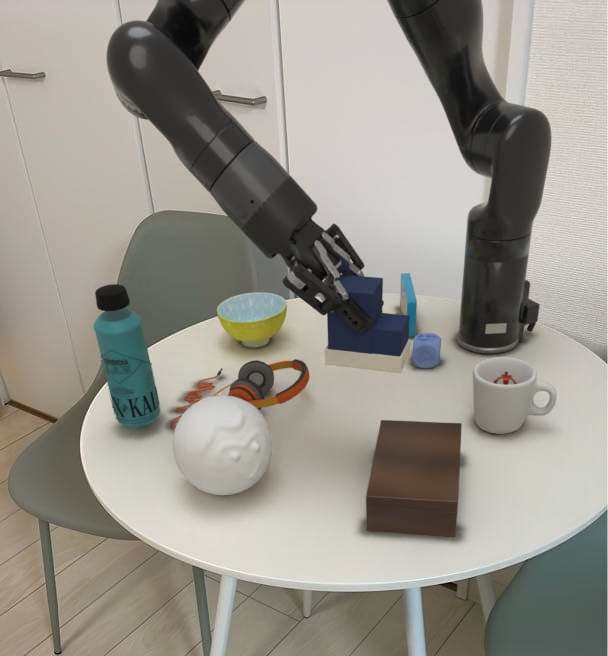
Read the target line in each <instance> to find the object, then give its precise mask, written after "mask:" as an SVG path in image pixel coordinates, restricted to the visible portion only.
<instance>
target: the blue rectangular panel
mask: <svg viewBox="0 0 608 656" xmlns="http://www.w3.org/2000/svg"><path fill="white" fill-rule="evenodd" d="M399 292H400V293H399V294H400V299H399V310H400V315H409V316H410V317H409V338H411V337H412V338H414V337H415V336H416V335H417V307H418V306H417V305H418V301H417V296H416V293H415V289H414V284H413V281H412V275H411V273H410V272H406V273H404V272H403V273H400V291H399Z"/></svg>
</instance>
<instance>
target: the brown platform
mask: <svg viewBox="0 0 608 656" xmlns="http://www.w3.org/2000/svg"><path fill="white" fill-rule="evenodd" d="M462 425H463V424H462V423H461V422H443V421H442V422H436V421H418V420H417V421H416V420H415V421H414V420H393V419H392V420H388V419H381V420H380V424H379V428H378V434H377V439H376V443H375V449H374V454H373V459H372V463H371V464H372V465H371V469H370V476H369V480H368V484H367V490H366V494H365V506H366V507H365V516H366V517H365V520H366V523H365V524H366V525H365V526H366V529H365V530H366V531H367V532H377V533H378V532H379V533H393V534H394V533H395V534H408V535H421V536H422V535H423V536H436V537H437V536H438V537H452V538H455V537H456V533H457V520H458V509H459V495H460V494H459V491H460V472H461V470H460V469H461V449H462V448H461V447H462V427H463V426H462Z"/></svg>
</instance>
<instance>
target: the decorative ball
mask: <svg viewBox="0 0 608 656" xmlns="http://www.w3.org/2000/svg"><path fill="white" fill-rule="evenodd" d="M199 400H200V401H198V402H194V403H192V404H191V405H192V406H191V407H187V408H186V409H187V410H184V412H183V413H182V414H181V415H182V416H181V415H180V416H181V417H180V418H179V420H178V422H177V423H176V425H175V426H176V428H174V430H173V431H174V432H173V436H172V452H173V453H172V454H173V457H174V462H175V464H176V466H177V468H178V470H179V471H180V473H181V475H182V476H183V478H185V480H186V481H187V482H189V483H190V485H192V486H194V487H195V488H197V489H198V490H200V491H202V492H204V493H207V494H210V495H216V496H232V495H236V494H239V493H242V492H245V491H246V490H248V489H250V488H251V487H253V486H254V485H255V484H257V483H258V481H260V480H261V478H262V477H263V476H264V474H265V473H266V471H267V470H268V467H269V465H270V463H271V459H272V456H273V437H272V432H271V429H270V427H269V423H268V421H267V419H266V417H265V416H264V414H263V413H262V412H261V410H260V411H259V410H258V409H257V408H256V407H255V406H253V405H252V404H250V403H248V402H246V401H244V400H242V399H240V398H237V397H233V396H228V395H226V394H224V395H223V394H220V395H218V394H217V395H215V396H213V395H211V396H208V397H205V398H201V399H199Z"/></svg>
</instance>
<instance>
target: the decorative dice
mask: <svg viewBox="0 0 608 656" xmlns="http://www.w3.org/2000/svg"><path fill="white" fill-rule="evenodd" d="M412 341H413V342H412V352H411V363H412V365H414V366H415V367H417V368H420V369H434V368H435V367H437V366H438V365H439V364H440V359H441V350H442V349H441V347H442V338H441V337H440V335H438V334H437V333H433V332H421V333H418V334H416V336H414V337H413V340H412Z"/></svg>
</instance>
